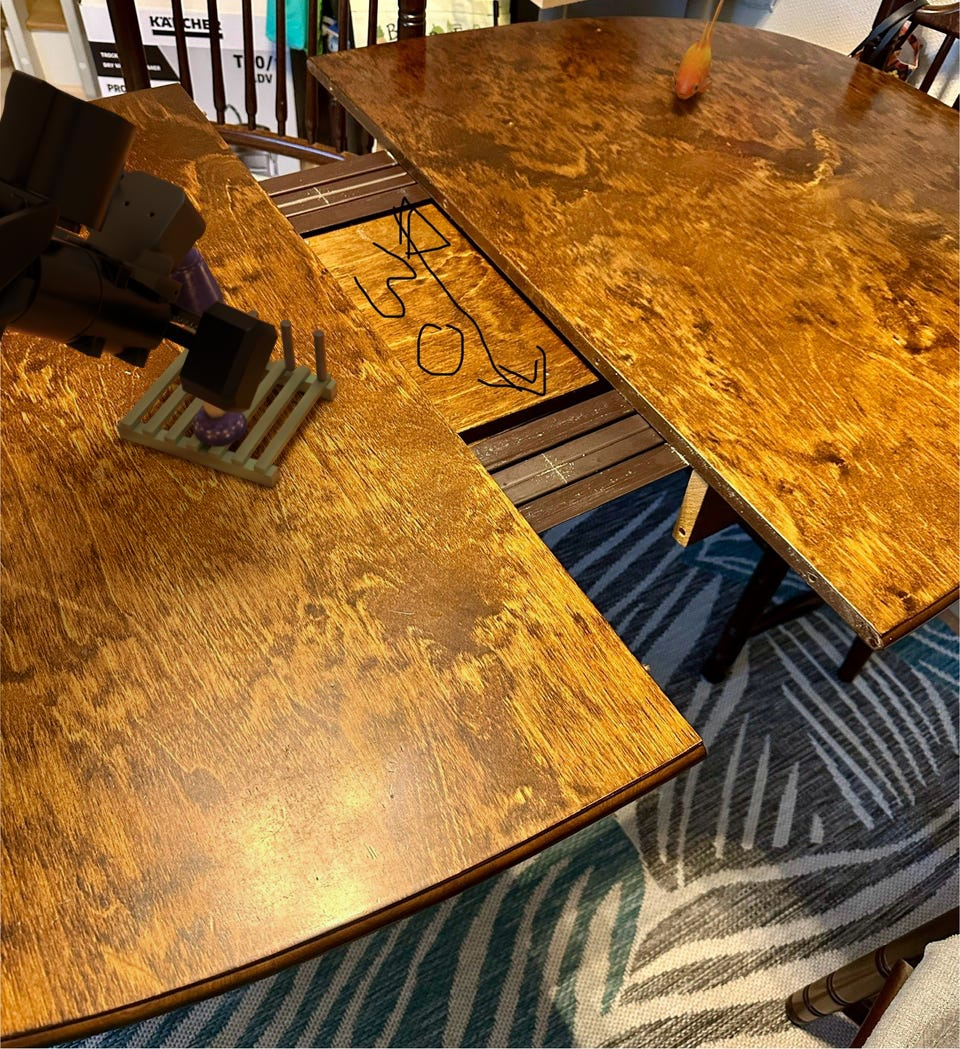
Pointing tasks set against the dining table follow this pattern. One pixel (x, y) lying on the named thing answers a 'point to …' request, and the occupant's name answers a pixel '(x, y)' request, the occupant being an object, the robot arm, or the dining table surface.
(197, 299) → the toy lamp
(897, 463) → the dining table surface
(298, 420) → the rack
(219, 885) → the dining table surface
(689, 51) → the fish
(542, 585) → the dining table surface
